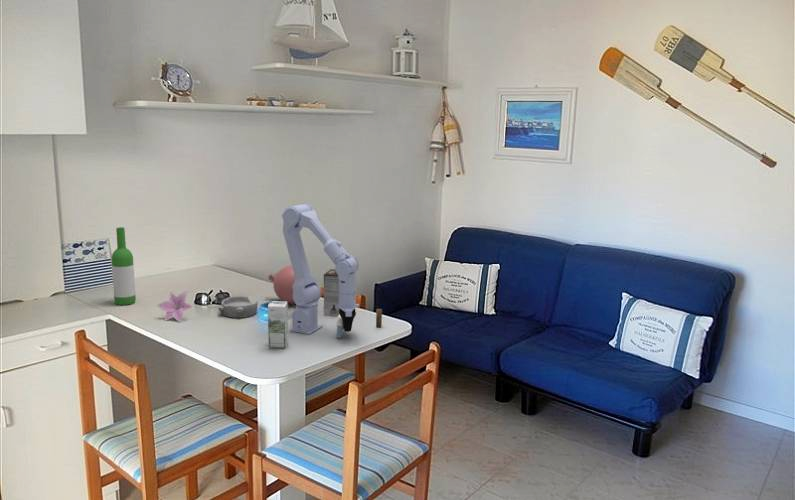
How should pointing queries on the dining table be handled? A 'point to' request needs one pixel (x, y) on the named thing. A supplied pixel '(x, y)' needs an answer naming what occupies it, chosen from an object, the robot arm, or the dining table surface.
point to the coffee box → (331, 293)
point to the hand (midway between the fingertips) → (347, 330)
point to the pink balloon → (284, 284)
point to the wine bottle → (123, 271)
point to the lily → (175, 306)
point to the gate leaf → (339, 326)
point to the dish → (238, 307)
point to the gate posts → (378, 318)
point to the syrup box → (277, 324)
